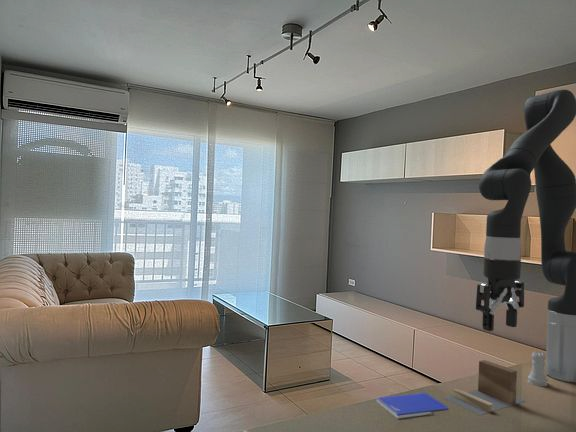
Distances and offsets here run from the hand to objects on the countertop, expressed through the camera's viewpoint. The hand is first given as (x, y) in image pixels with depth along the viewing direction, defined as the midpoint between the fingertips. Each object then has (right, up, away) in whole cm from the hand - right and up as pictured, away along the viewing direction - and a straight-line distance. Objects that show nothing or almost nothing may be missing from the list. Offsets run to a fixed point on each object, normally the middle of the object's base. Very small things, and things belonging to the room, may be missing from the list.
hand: (499, 328), depth 99 cm
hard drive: (-22, -16, -6) cm, 28 cm away
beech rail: (-8, -16, -4) cm, 18 cm away
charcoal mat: (-4, -16, -2) cm, 17 cm away
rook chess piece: (+14, -17, +10) cm, 24 cm away
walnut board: (-1, -16, 0) cm, 16 cm away
